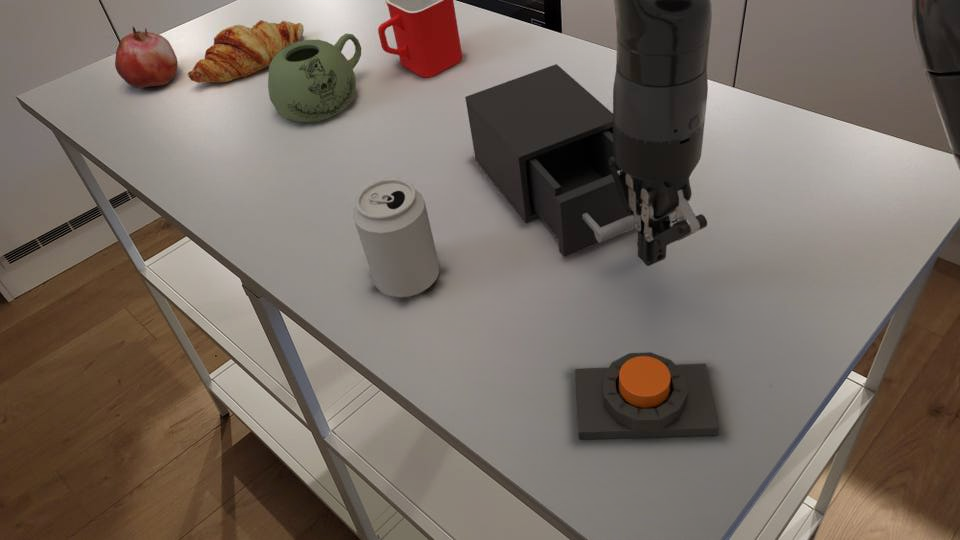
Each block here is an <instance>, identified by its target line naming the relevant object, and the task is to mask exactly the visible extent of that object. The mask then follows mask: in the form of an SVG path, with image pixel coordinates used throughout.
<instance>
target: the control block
mask: <svg viewBox="0 0 960 540" xmlns="http://www.w3.org/2000/svg"><path fill="white" fill-rule="evenodd" d="M639 356H648V357H653V358H656V359H658V360H660V361H661V362H662V363H664V364H665V365H666V367H667V368H668V370H669V372H670V376H671V380H670V392H669V395H668V397H667V399H666V400H665V401H664V402H663V403H661V404H660V405H658V406H655V407H651V408H640V407H636V406H633V405H631V404H630V403H628V402H627V401H626V400H625V399H624V398H623V397H622V395H621V393H620V390H619V372H620V369H621V367H622V366H623V364H624V363H625V362H627V361H628V360H630V359H632V358H634V357H639ZM574 371H575V372H574V374H575V375H574V376H575V389H576V390H575V392H576V393H575V394H576V407H577V408H576V411H577V428H578V431H577V432H578V440H611V439H639V438H641V439H643V438H672V437H673V438H674V437H707V436H708V437H709V436H710V437H711V436H718V435H719V430H720V425H719V421H718V416H717V412H716V406H715V402H714V397H713V392H712V388H711V387H712V386H711V382H710V377H709V372H708V368H707V364H706V363H686V364H685V363H684V364H683V363H681V364H675V362H673V360H671V359H669V358H667V357H664V356H662V355H659V354H657V353H654V352H651V351H649V352H648V351H647V352H629V353H627V354H625V355H623V356H621V357H620V358H617V359H615V360H613V361H612V362H611V363H610V364H609V366H608V367H589V368H586V367H585V368H575V369H574Z"/></svg>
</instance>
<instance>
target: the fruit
mask: <svg viewBox="0 0 960 540" xmlns="http://www.w3.org/2000/svg"><path fill="white" fill-rule="evenodd" d="M178 62H179V61H178V57H177V55H176V53H175V51H174V49H173V46H172V45H171V43H170V42H169V40H168V39H167V38H165V36H163V35H161V34H158V33H155V32H149V31H148V29H147V28H146V27H145V28H144V31H141V30H137V31H136V28H135V26H132V32H131V33H128V34H127V35H125V36H123V37H122V38H121V39H120V41H119V43H118V45H117V49H116V51H115V60H114V67H115V70H116V72H117V74H118V75H119V76H120V78H121V79H123V80H124V81H125V83H127V84H128V85H130V86H132V87H134V88H137V89H145V88H150V87H163V86H165V85H167V84H168V83H170V82H171V81H172V80H173V78H174V76H175V75H176V73H177V71H178V67H179V64H178Z"/></svg>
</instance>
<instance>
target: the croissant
mask: <svg viewBox="0 0 960 540" xmlns="http://www.w3.org/2000/svg"><path fill="white" fill-rule="evenodd" d="M304 32H305V30H304V24H303V23H301V22H297V23H295V22H290V21H286V20H282V21H281V22H279V23H276V22H268V21H265V20H262V19H261V20H259V21H258V22H256V23H255V24H253V25H252V27H247V26H246V25H243V24H235V25H233V26H228V27H225V28H224V29H222V30H220V31H219V32H218V33H217V34H216V36H214V38H213V45H210V47H208V48H207V49H206V50H205V55H204V58H202V59H199V60H198V61H196V63H195V65H194V66H193V68H192V70H190V71H188V72H187V76H188V78H189V79H190V80H191V81H192V82H194V83H198V84H200V83H211V82H213V83H214V82H215V83H226V82H231V81H233V80H237V79H239V78H243V77H248V76H250V75H254V74H255V73H257V72H258V71H260V70H263V69H265V68H268V67H269V66H270V63H271V61H272V59H273V58H274V56H275V55H276V54H277V53H278V51H280V50H281V49H283V48H284V47H286V46H288V45H290V44H293V43H295V42H299V41H300V39H301V38H302V36H303V35H304Z"/></svg>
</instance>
